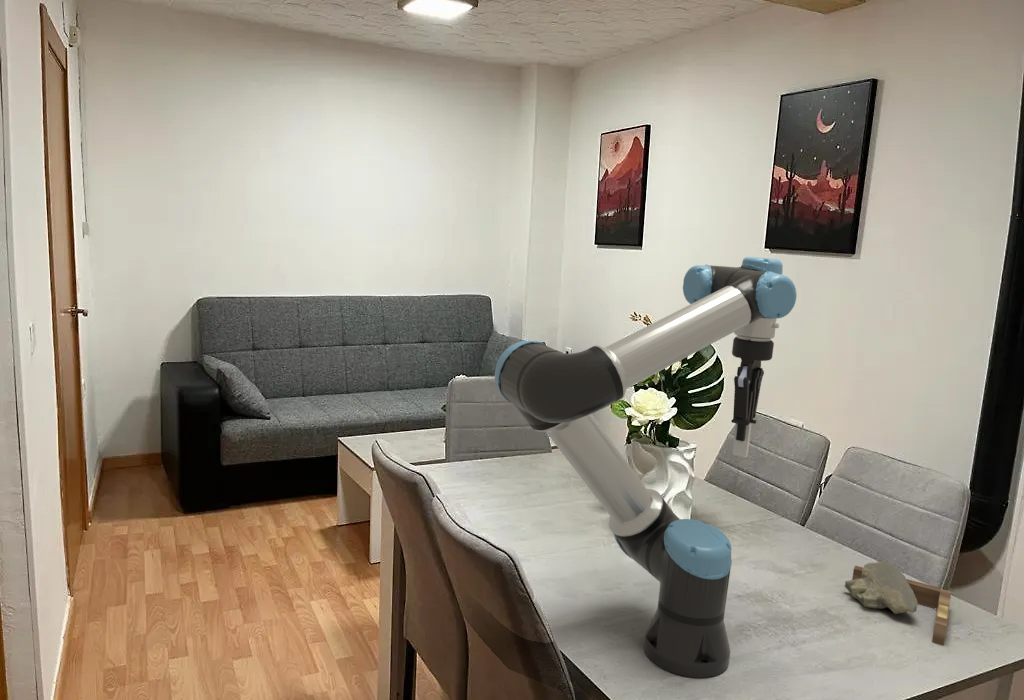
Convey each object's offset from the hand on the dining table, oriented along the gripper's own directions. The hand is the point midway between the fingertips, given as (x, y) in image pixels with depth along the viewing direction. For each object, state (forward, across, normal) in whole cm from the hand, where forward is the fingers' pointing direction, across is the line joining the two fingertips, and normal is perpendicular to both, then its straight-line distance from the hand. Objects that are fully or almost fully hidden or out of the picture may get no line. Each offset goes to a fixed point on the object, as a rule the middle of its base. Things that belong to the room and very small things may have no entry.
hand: (739, 455), depth 153 cm
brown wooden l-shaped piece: (+32, +22, -30) cm, 49 cm away
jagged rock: (+33, +22, -27) cm, 48 cm away
